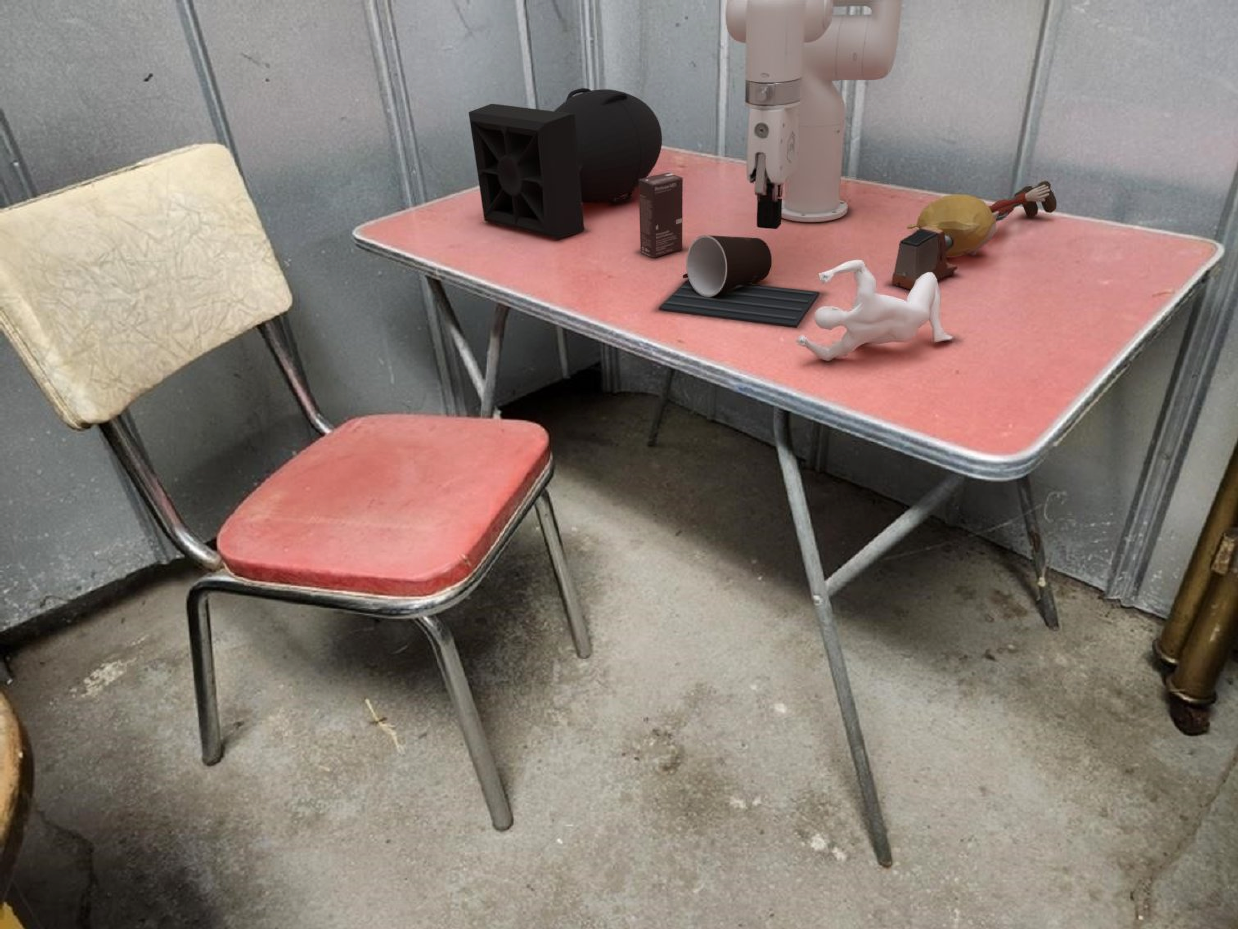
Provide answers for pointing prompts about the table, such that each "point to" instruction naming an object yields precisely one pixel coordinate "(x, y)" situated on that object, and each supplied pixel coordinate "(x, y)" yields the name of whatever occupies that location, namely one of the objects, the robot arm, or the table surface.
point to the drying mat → (745, 304)
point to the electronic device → (922, 257)
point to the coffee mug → (726, 263)
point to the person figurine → (877, 313)
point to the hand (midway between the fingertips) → (768, 226)
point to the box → (660, 214)
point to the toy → (980, 216)
